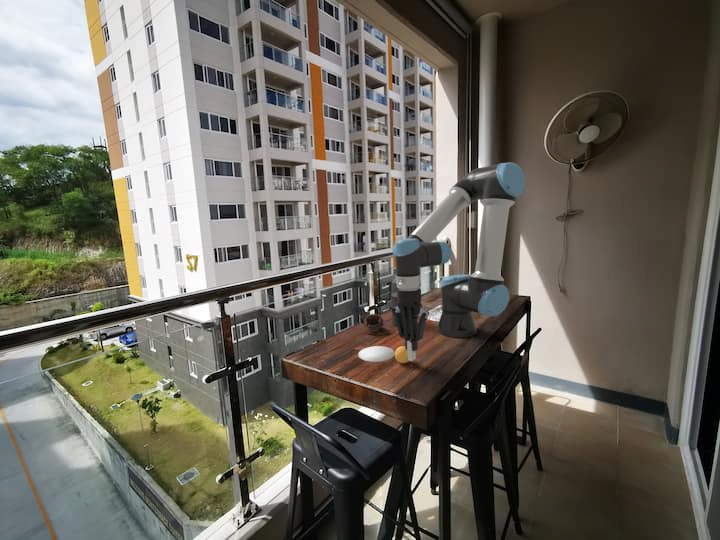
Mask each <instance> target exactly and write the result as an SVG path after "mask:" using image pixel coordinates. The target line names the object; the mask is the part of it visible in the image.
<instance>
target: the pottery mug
mask: <svg viewBox="0 0 720 540" xmlns="http://www.w3.org/2000/svg"><path fill="white" fill-rule="evenodd" d="M360 322H361V324H362V325H363V326H364V328H365V333H366V334H368V335H369V334H370V333H373V332H377V331H379V330H380V329H382V328H383V327H385V325H384V319H383V317H382V316H380V315H379V314H377V313H371V314H368V315H361V316H360Z"/></svg>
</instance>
